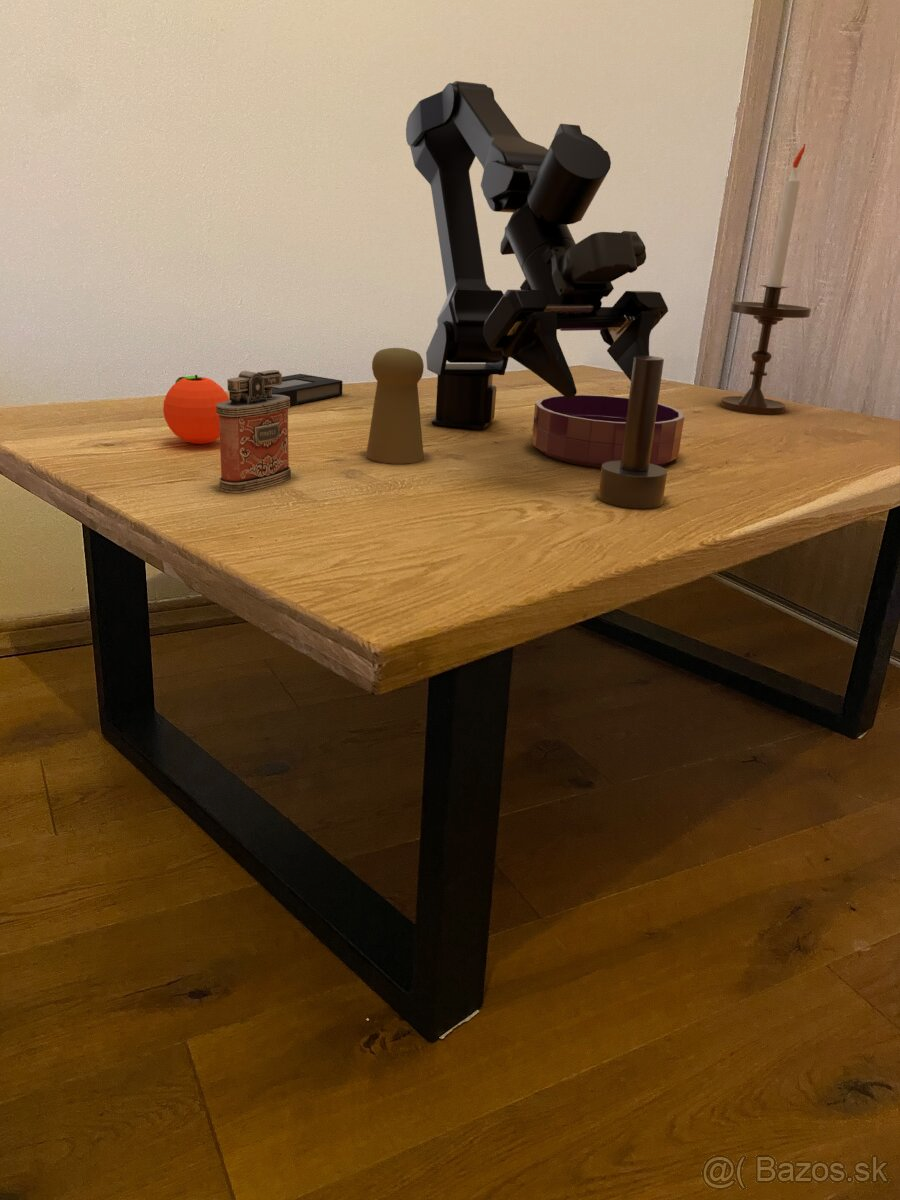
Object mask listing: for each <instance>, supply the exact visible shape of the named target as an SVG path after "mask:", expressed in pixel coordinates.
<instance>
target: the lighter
mask: <svg viewBox="0 0 900 1200" xmlns="http://www.w3.org/2000/svg"><path fill="white" fill-rule="evenodd" d="M282 377H283V373H281V371H280V370H278V369H269V370H262V371H257V372H255V371H254V372H252V371H248V370H243V371H241V372H239V374H238V376H237V377H229V378H227V380H226V381H227V382H226V383H227V392H228V396H229V395H230V397H231V400H230V399H229V401H225V402H221V403H218V404H216V409H217V414H218V415H219V429H220V437H219V447H220V448H219V450H220V474H221V475H220V478H219V481H218V482H219V490H221V491H222V492H225V493H226V492H227V493H234V494H239V493H245V492H250V491H255V490H260V489H264V488H268V487H272V486H275V485H278V484H280V483H283V482H285V481H287V480H289V479H291V478H292V476H291V475H292V470H291V469H292V468H291V466H289V465H290V463H289V462H290V461H289V408H290V407H291V405H290V397H288V396H285V395H276V394H272V389H271V386H277V385H282ZM230 397H229V398H230Z"/></svg>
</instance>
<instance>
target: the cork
mask: <svg viewBox="0 0 900 1200" xmlns="http://www.w3.org/2000/svg"><path fill="white" fill-rule="evenodd" d="M424 365H425V364H424V360H423V358H422V356H421V354H420V353H419V352H417V351H416V350H412V349H409V348H404V347H389V348H383V349H380V350H378V351H377V352H376V353H374V356H373V358H372V361H371V368H372V369H371V371H372V374H373V377H374V378H375V380H376V389H375V393H374V394H375V395H374V400H373V401H374V402H373V408H372V414H371V421H370V427H369V435H368V441H367V447H366V458H367V459H369V460H370V461H371V460H372V461H374V462H378V463H383V464H392V465H393V464H395V465H405V464H414V463H419V462H421V461H423V460H424V458H425V457H424V445H423V434H422V433H423V432H422V423H421V420H422V419H421V409H420V400H419V399H420V398H419V388H418V387H419V386H418V383H419V382H420V381H421V379H422V377H423V373H424V369H425V368H424V367H425V366H424Z"/></svg>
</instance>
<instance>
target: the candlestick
mask: <svg viewBox="0 0 900 1200" xmlns="http://www.w3.org/2000/svg"><path fill="white" fill-rule="evenodd" d="M805 149H806V143H804V144H803V146H802V148H801V149H800V150H799V151H798V153H797V155H796V157H795V158H794V160H793V162H792V168H793V169H792V170H791V174H790V176H789V177H788V180H785V181H784V187H783V191H782V197H781V204H780V210H779V214H778V219H777V227H776V233H775V238H774V243H773V249H772V254H771V260H770V266H769V273H768V278H767V284H758V286H760V287H764V288H765V292H764V297H763V301H762V302H759V301H758V302H757V301H731V302H730V305H729V311H730V312H733V313H738V314H744V315H749V316H752V317H753V319H755V320H757V323H758V324H760V325H761V329H760V334H759V340H758V346H757V350H754V351H753V352H752V353H751V360H752V362H754V365H753V370H750V371H749V375H752V380H751V384H750V388H749V389H748V390H747V392H746V393H745V394H744V395H743V396H742V395H740V396H739V395H735V396H734V395H731V396H729V395H728V396H723V397H722V398H721V400H720V407H721V408H723V409H726V410H730V411H734V412H738V413H743V414H744V413H745V414H752V415H753V414H755V415H780V414H781V415H782V414H784V413H785V412H786V411H785V409H786V404H785V403H783V402H781V401H777V400H773V399H769V398H765V396H764V393H763V391H762V388H761V387H762V382H763V378H764V377H765V376H768V372H766V371H765V370H766V364H767V363H769V362H770V361H771V359H772V358H773V357H772V353H770V352H769V351H768V350H769V343H770V338H771V331H772V327H773V326H776V325H778V323H779V322H782V321H784V319H807V318H810V317H811V312H812V311H811V310H812V309H811V308H810V307H807V306H800V305H793V304H783V303H780V299H781V294H782V293H781V292H782V289H788V288H790V287H789V286H784V285H783V286H782V284H783V283H782V282H783V278H784V271H785V266H786V262H787V261H786V260H787V255H788V249H789V243H790V239H791V233H792V228H793V222H794V216H795V211H796V206H797V200H798V195H799V189H800V184H801V181H799V180H798V176H797V175H798V170H797V169H796V168H798V166H799V164H800V162H801V160H802V158H803V157H802V156H803V154H804V153H805Z"/></svg>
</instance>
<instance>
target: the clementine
mask: <svg viewBox="0 0 900 1200" xmlns="http://www.w3.org/2000/svg"><path fill="white" fill-rule="evenodd" d="M174 382H175V383H174V384H172V386H171V387H170V388H169V390H168V391H167V392H166V395H165V398H164V400H163V407H162V411H163V417H164V421H165V422H166V425H167V426H168V428H169V430H171V432H172V433H173V434H174V435H175V437H178V438H179V439H180V440H182V441H184V442H187V443H190V444H195V445H204V444H209V443H211V442H214V441H216V440H217V439H220V429H219V415H218V414H217V409H216V404H218V403H221V402H225V401H229V400H230V397H229V394H228V393H227V392H226V391H225V390H224V388H223V387H222V386H221V385H220V384H218V383H217V382H216V381H215V380H212V379H211V378H208V377H202V376H198V374H194V375H188V376H187V375H186V376H179V377H177V379H176V380H175V381H174Z"/></svg>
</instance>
